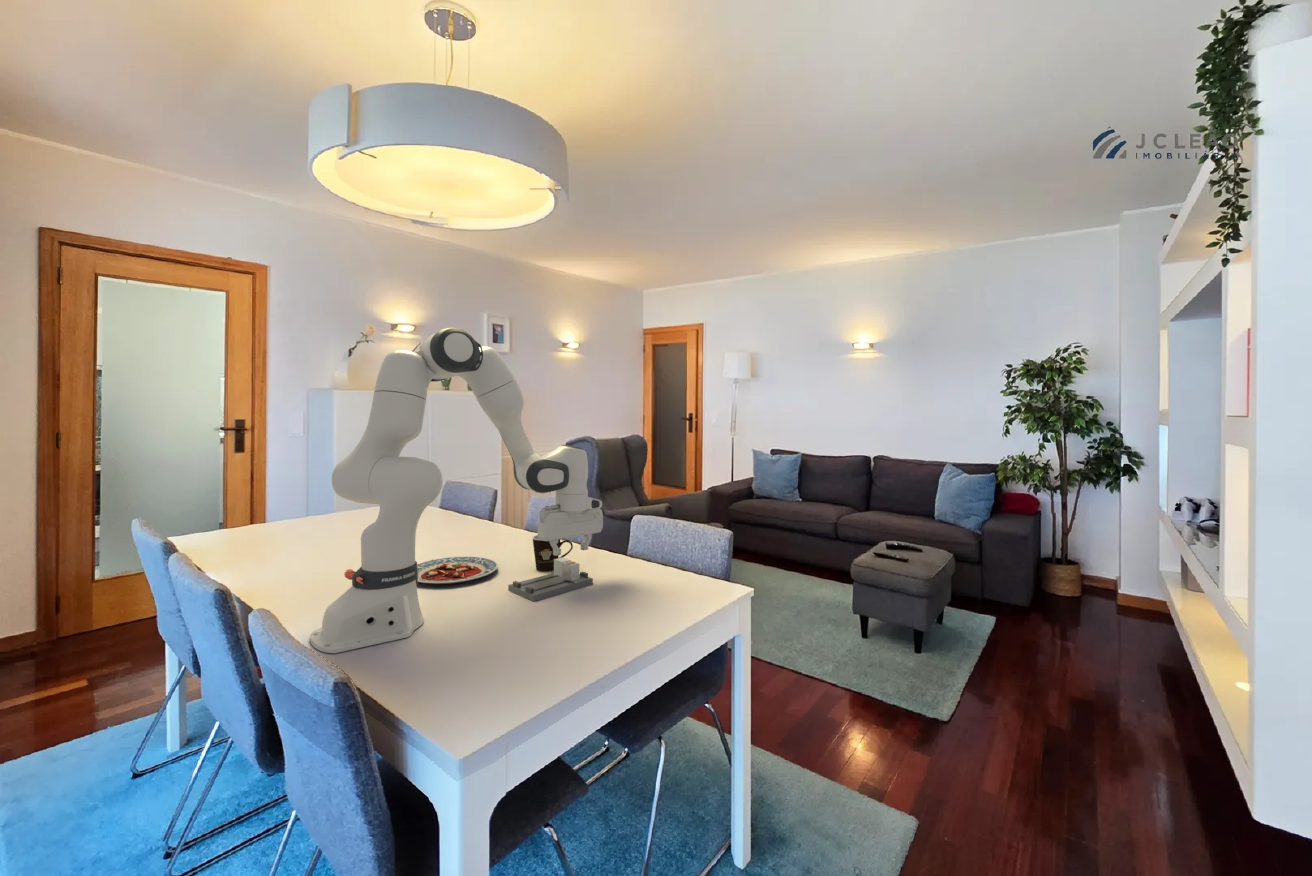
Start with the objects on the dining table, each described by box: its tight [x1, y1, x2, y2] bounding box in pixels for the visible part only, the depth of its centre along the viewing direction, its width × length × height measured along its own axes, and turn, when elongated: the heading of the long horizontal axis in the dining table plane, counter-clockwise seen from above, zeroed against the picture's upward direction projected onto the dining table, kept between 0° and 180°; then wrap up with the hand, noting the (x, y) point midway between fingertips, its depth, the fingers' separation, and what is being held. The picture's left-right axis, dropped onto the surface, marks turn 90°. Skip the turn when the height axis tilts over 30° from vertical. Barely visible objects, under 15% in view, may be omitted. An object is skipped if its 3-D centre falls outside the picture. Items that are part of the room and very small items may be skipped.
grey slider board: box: [507, 557, 594, 602], centre depth 153 cm, size 20×12×6 cm, turn 137°
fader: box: [562, 560, 580, 581], centre depth 154 cm, size 3×4×5 cm
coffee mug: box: [532, 534, 574, 573], centre depth 169 cm, size 12×9×10 cm
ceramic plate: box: [417, 556, 499, 585], centre depth 163 cm, size 26×26×3 cm
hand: (570, 552), depth 152 cm, fingers open, 8 cm apart
